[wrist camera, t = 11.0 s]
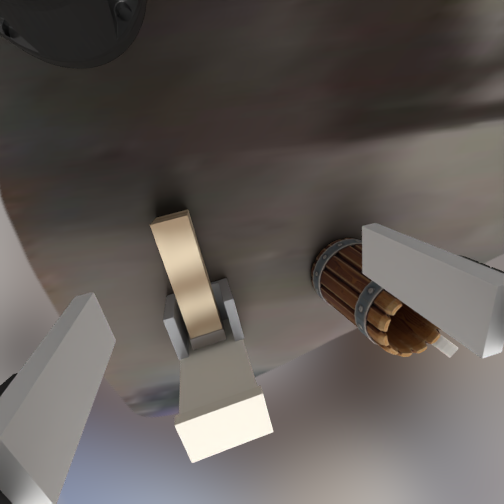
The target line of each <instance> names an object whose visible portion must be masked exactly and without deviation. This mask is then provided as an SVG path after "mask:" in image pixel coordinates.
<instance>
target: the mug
mask: <svg viewBox="0 0 504 504" xmlns="http://www.w3.org/2000/svg"><path fill="white" fill-rule="evenodd" d="M311 276H312V280H311V281H312V285H313V287H314V289H315V291H316V292H317V294H318V295H319V296H320V297H321V298H322V299H323V300H324V301H325V302H326V303H328V304H329V305H330V306H332V307H334V308H335V309H337V310H338V311H339V312H340V313H341V314H342V315H344V316H345V317H346V318H347V319H348V320H350V321H351V322H352V323H353V324H354V325H356V326H357V327H358V329H359V330H360V331H361V332H362V333H363V334H364V335H365V336H366V337H368V338H369V339H370V340H371V341H372V342H373V343H375V344H377V345H379V346H380V347H382V348H383V349H384V350H385V351H387V352H389V353H391V354H394V355H399V356H402V357H407V356H410V355H412V352H413V353H421V352H423V351H425V350H426V349H427V345H426V343H430V344H432V345H433V346H435V347H436V348H437V349H439V350H440V351H441V352H443V353H444V354H445V355H447V356H448V357H451V356H452V355H453V354H454V353H455V352H456V351H457V350H458V347H457V346H455V345H454V344H453V343H451V342H450V341H449V340H447V339H446V338H445V337H443V336H442V335H441V334H440V333H439V331H438V329H440V328H438V327H437V326H435V325H434V324H433V323H431V322H430V321H428V320H427V319H426V318H424V317H423V316H421V315H420V314H419V313H417V312H416V311H414V310H413V309H412V308H410V307H409V306H407V305H406V304H405V303H403V302H402V301H400V300H399V299H398V298H396V297H395V296H393V295H392V294H391V293H389V292H388V291H386V290H385V289H384V288H382V287H381V286H379V285H378V284H377V283H375V282H374V281H372V280H371V279H369V278H368V277H367V276H365V275H364V274H362V240H358V239H354V238H344V239H342V240H340V239H339V240H336V241H334V242H332V243H330V244H329V245H328V246H327V247H326V248H324V249H323V250H322V251H321V252H320V253H319V255H318V256H317V258H316V261H315V262H314V264H313V267H312V272H311ZM440 330H441V329H440Z"/></svg>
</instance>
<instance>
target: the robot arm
mask: <svg viewBox="0 0 504 504" xmlns="http://www.w3.org/2000/svg"><path fill="white" fill-rule="evenodd" d="M145 9H146V0H0V35H2V36H3V37H4V38H6V39H7V40H9V41H10V42H12V43H13V44H15V45H16V46H18V47H19V48H21V49H22V50H24V51H26V52H27V53H29V54H31V55H33V56H34V57H37V58H39V59H41V60H43V61H46V62H48V63H51V64H54V65H58V66H62V67H68V68H91V67H96V66H100V65H103V64H106V63H108V62H110V61H112V60H114V59H115V58H117V57H118V56H120V55H121V54H122V53H123V52H124V51H125V50H126V49H127V48H128V47H129V46H130V45H131V44H132V42H133V41H134V39H135V38H136V36H137V34H138V32H139V30H140V27H141V25H142V22H143V18H144V14H145ZM362 274H364V275H365V276H367V277H368V278H369V279H371V280H372V281H374V282H375V283H377V284H378V285H379V286H381V287H382V288H384V289H385V290H386V291H388V292H389V293H391V294H392V295H393V296H395V297H396V298H398V299H399V300H400V301H402V302H403V303H405V304H406V305H407V306H409V307H410V308H412V309H413V310H414V311H416V312H417V313H419V314H420V315H421V316H423V317H424V318H426V319H427V320H428V321H430V322H431V323H433V324H434V325H435V326H437V327H438V328H440V329H441V330H442V331H444V332H445V333H447V334H448V335H450V336H451V337H452V338H454V339H455V340H457V341H458V342H459V343H461V344H462V345H464V346H465V347H466V348H468V349H469V350H471V351H472V352H473V353H475V354H476V355H478V356H479V357H480V358H486V357H488V356H492V355H494V354H497V353H500V352H502V348H503V344H504V272H503V271H501V270H498V269H495V268H493V267H492V268H490V266H487V265H485V264H483V263H479V262H478V261H475V260H472V259H470V258H467V257H464V256H460V255H456V254H453V253H450V252H448V251H445V250H443V249H440V248H438V247H435V246H433V245H430V244H428V243H425V242H423V241H420V240H418V239H415V238H413V237H410V236H407V235H405V234H402V233H400V232H397V231H395V230H392V229H390V228H387V227H385V226H382V225H380V224H377V223H373V224H369V225H364V226H362ZM115 342H116V340H115V337H114V335H113V333H112V331H111V329H110V327H109V324H108V322H107V320H106V318H105V316H104V314H103V311H102V309H101V307H100V305H99V303H98V300H97V298H96V296H95V294H94V292H91V293H87V294H83V295H79V296H75V298H74V299H73V300H72V302H71V303H70V304H69V306H68V307H67V308H66V310H65V311H64V312H63V314H62V315H61V316H60V318H59V319H58V320H57V322H56V323H55V324H54V326H53V327H52V328H51V330H50V331H49V333H48V334H47V335H46V336H45V338H44V339H43V340H42V342H41V343H40V344H39V346H38V347H37V349H36V350H35V351H34V352H33V354H32V355H31V357H30V358H29V359H28V360H27V362H26V363H25V365H24V366H23V367H22V368H21V370H20V371H19V373H16V374H13V375H12V376H11V377H10V378H9V379H7V380H6V381H5V382H4V383H3V384H2V385H0V504H56V503H57V500H58V498H59V495H60V492H61V490H62V487H63V484H64V481H65V479H66V476H67V473H68V471H69V468H70V465H71V462H72V460H73V457H74V454H75V451H76V448H77V446H78V443H79V440H80V438H81V435H82V432H83V430H84V427H85V424H86V421H87V419H88V416H89V413H90V410H91V408H92V405H93V402H94V399H95V397H96V394H97V391H98V388H99V386H100V383H101V380H102V378H103V375H104V372H105V369H106V367H107V364H108V361H109V358H110V356H111V353H112V350H113V347H114V345H115Z"/></svg>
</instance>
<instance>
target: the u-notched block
mask: <svg viewBox="0 0 504 504" xmlns="http://www.w3.org/2000/svg"><path fill="white" fill-rule="evenodd" d="M211 286H212V289H213V293H214V296H215V299H216V303H217V306H218V309H219V310H220V313H221V316H222V320H223V325H224V330H225V335H226V340H223V341H220V342H217V343H214V344H210V345H207V346H204V347H201V348H198V349H195V350H193V348H192V345H191V342H190V336H189V333H188V330H187V327H186V325H185V322H184V319H183V316H182V313H181V311H180V308H179V305H178V302H177V299H176V297H175V294H171V295H167V297H166V304H165V311H164V318H163V321H164V324H165V326H166V329H167V331H168V334H169V336H170V339H171V341H172V344H173V346H174V349H175V351H176V354H177V356H178V359H179V360H181V365H180V400H179V415H176V416H175V428H176V430H177V432H178V434H179V436H180V438H181V440H182V443H183V445H184V447H185V449H186V451H187V453H188V455H189V458H190V460H191V462H192V463H193V462H196V461H199V460H201V459H204V458H207V457H209V456H212V455H214V454H217V453H219V452H222V451H225V450H227V449H230V448H233V447H235V446H238V445H240V444H243V443H245V442H248V441H251V440H254V439H256V438H258V437H261V436H264V435H267V434H269V433H272V432H273V429H272V425H271V421H270V418H269V414H268V410H267V407H266V403H265V399H264V396H263V392H262V389H261V386H257V383H256V380H255V377H254V374H253V370H252V367H251V364H250V361H249V357H248V354H247V351H246V348H245V344H244V341H243V339H244V335H243V332H242V328H241V324H240V321H239V317H238V314H237V310H236V306H235V303H234V299H233V296H232V293H231V290H230V287H229V284H228V281H227V278H225V279H222V280H218V281H215V282H212V283H211Z"/></svg>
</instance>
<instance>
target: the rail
mask: <svg viewBox="0 0 504 504" xmlns="http://www.w3.org/2000/svg"><path fill="white" fill-rule="evenodd" d="M150 227H151V229H152V232H153V235H154V238H155V241H156V243H157V246H158V249H159V252H160V255H161V257H162V260H163V263H164V266H165V269H166V271H167V274H168V277H169V280H170V283H171V285H172V288H173V291H174V294H175V297H176V299H177V302H178V305H179V308H180V311H181V313H182V316H183V319H184V322H185V325H186V327H187V330H188V333H189V336H190V342H191V345H192V348H193V350H195V349H198V348H201V347H204V346H207V345H210V344H214V343H217V342H220V341H223V340H226V335H225V330H224V325H223V320H222V316H221V313H220V310H219V309H218V306H217V303H216V299H215V296H214V293H213V289H212V286H211V283H210V280H209V276H208V273H207V270H206V266H205V263H204V260H203V257H202V253H201V250H200V247H199V243H198V240H197V237H196V234H195V230H194V227H193V224H192V220H191V217H190V214H189V211H188V210H184V211H180V212H176V213H173V214H169V215H165V216H161V217H157V218H155V220H154V221H153V222H152V223H151V224H150Z"/></svg>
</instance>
